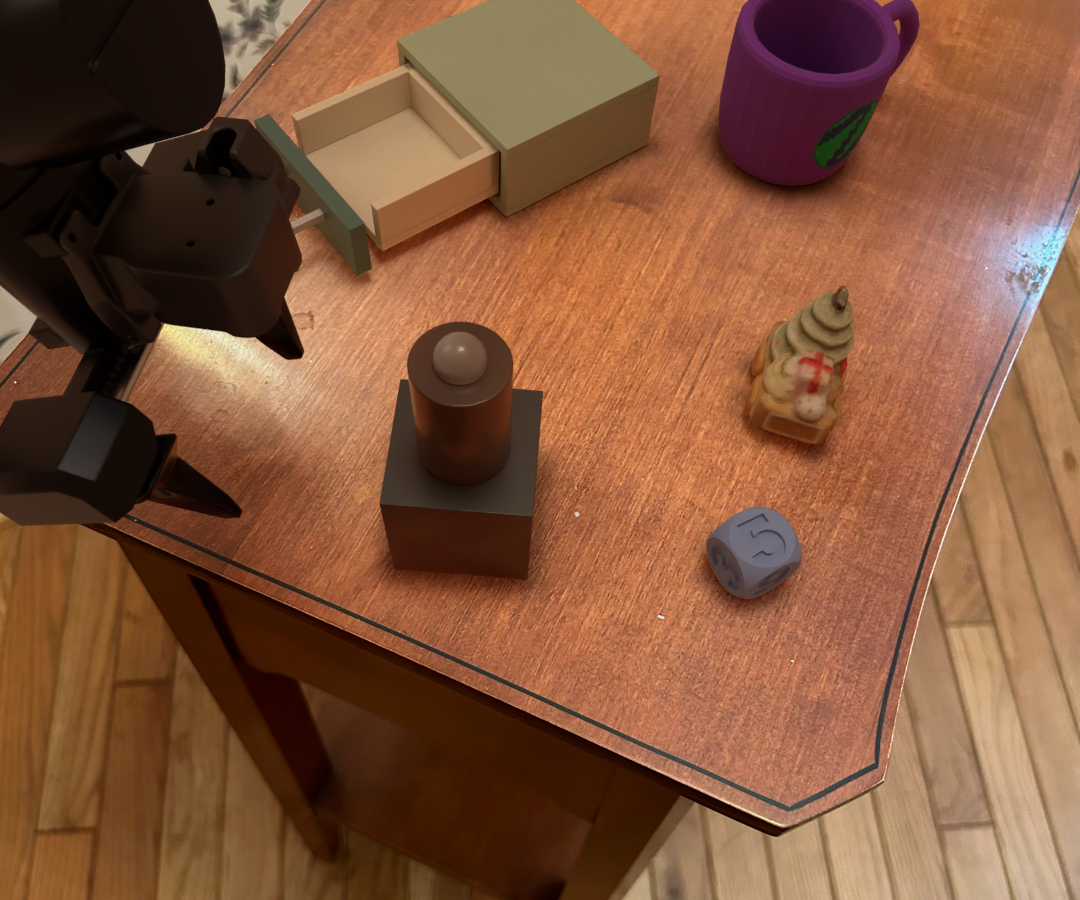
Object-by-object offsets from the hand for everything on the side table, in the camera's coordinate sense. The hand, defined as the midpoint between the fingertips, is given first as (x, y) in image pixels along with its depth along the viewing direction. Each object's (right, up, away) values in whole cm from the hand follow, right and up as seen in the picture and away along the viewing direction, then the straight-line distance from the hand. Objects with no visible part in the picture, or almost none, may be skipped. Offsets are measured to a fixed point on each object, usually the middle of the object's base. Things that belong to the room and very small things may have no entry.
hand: (266, 432), depth 45 cm
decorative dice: (+25, -7, +12) cm, 29 cm away
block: (+9, -4, +13) cm, 16 cm away
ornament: (+30, +4, +18) cm, 35 cm away
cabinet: (+12, +27, +28) cm, 41 cm away
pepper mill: (+9, 0, +6) cm, 11 cm away
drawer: (0, +20, +23) cm, 30 cm away
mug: (+34, +27, +30) cm, 53 cm away
